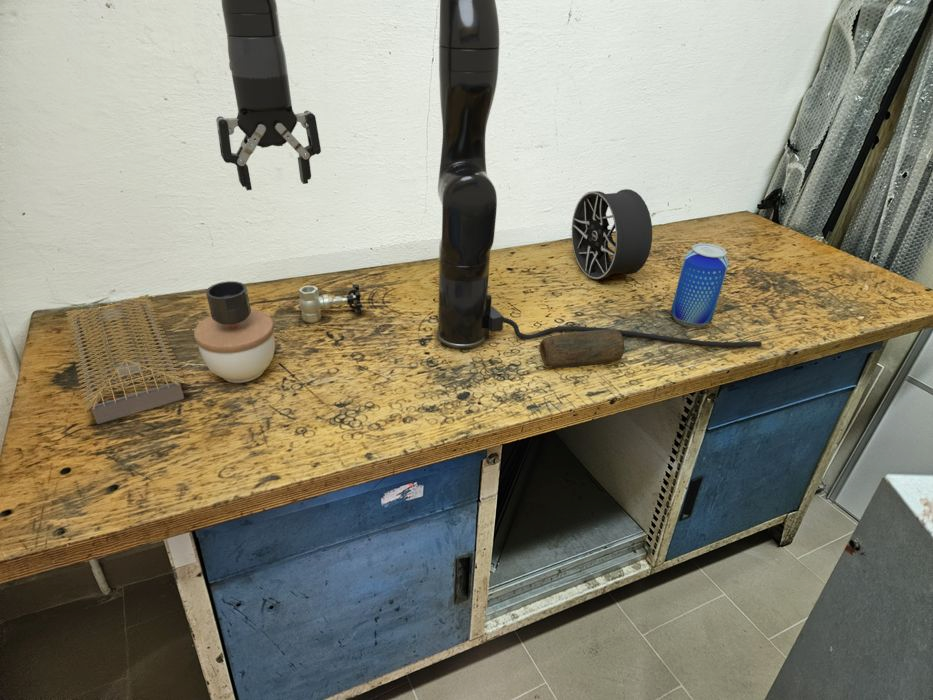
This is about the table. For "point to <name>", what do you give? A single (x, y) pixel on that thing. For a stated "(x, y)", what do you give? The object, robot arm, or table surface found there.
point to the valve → (325, 302)
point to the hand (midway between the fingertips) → (277, 185)
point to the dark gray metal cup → (228, 302)
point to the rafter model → (126, 368)
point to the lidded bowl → (237, 346)
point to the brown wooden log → (582, 348)
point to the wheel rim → (595, 234)
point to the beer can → (699, 285)
